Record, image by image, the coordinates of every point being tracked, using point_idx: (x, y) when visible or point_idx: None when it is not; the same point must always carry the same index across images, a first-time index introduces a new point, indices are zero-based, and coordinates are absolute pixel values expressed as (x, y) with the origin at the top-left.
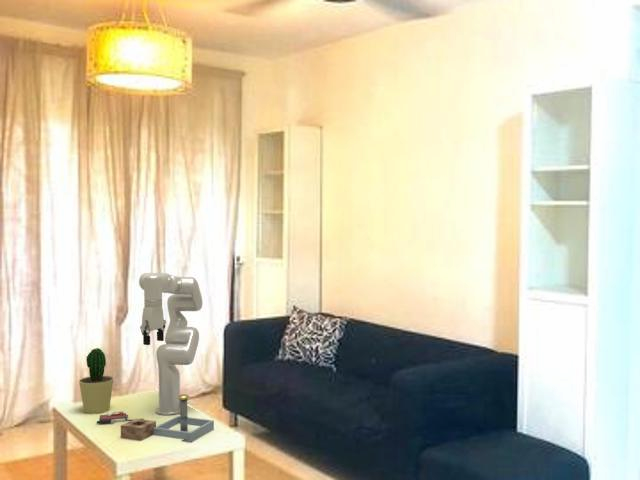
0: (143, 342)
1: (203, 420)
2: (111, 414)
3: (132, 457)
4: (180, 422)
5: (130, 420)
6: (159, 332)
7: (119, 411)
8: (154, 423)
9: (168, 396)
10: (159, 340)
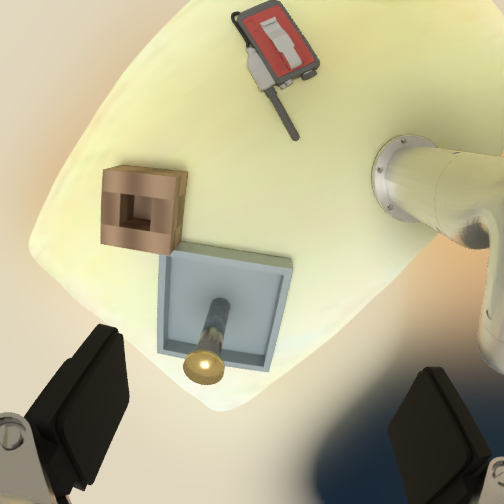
0: (87, 339)
1: (267, 348)
2: (269, 35)
3: (49, 257)
4: (209, 313)
5: (273, 103)
6: (437, 486)
7: (294, 50)
8: (162, 253)
9: (406, 198)
10: (406, 399)
